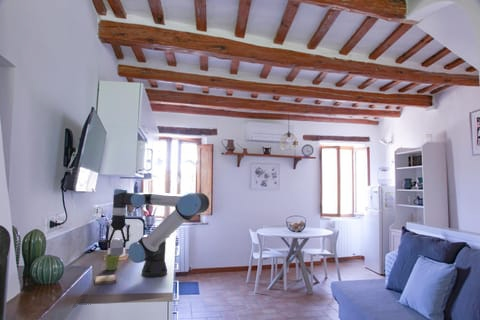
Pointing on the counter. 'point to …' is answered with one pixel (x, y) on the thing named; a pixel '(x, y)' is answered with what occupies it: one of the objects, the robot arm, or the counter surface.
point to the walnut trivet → (105, 279)
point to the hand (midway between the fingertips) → (116, 253)
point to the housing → (116, 246)
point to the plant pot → (111, 261)
